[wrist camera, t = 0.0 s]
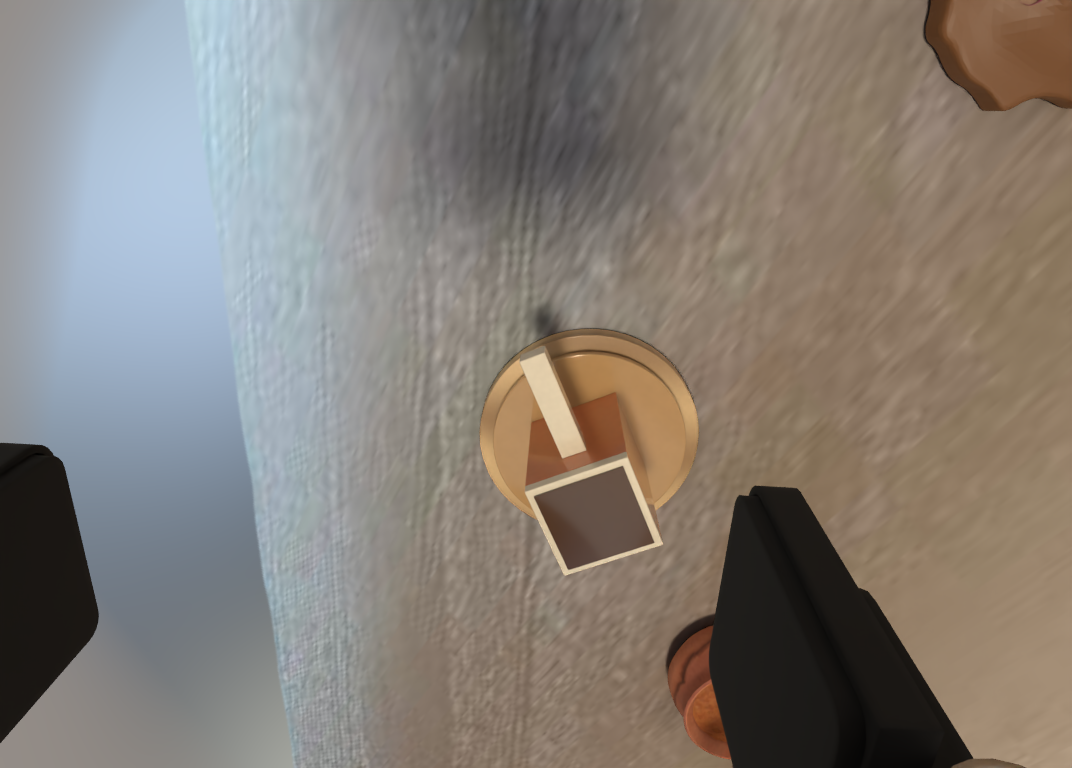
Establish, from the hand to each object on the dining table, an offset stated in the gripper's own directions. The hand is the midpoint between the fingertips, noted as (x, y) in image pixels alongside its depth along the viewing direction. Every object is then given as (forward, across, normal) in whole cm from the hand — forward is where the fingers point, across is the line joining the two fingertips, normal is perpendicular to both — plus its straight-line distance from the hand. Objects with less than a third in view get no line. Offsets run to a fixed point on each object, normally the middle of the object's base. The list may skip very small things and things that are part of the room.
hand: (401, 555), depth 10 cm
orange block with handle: (+35, -4, +14) cm, 38 cm away
